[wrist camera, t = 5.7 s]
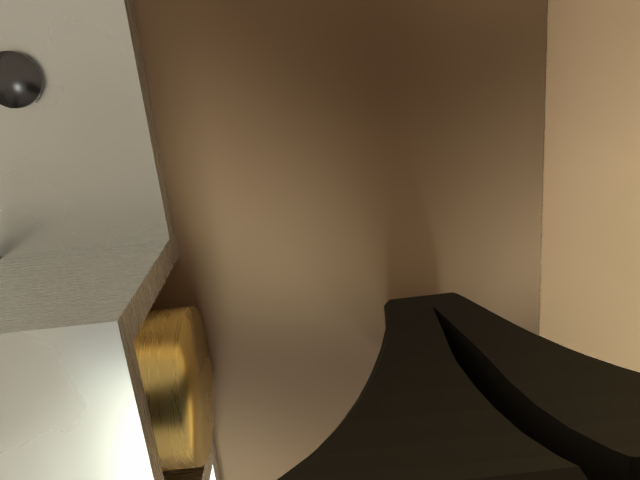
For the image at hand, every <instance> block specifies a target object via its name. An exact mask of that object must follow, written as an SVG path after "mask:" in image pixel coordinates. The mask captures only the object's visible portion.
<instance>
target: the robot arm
mask: <svg viewBox="0 0 640 480" xmlns="http://www.w3.org/2000/svg"><path fill="white" fill-rule="evenodd" d="M384 314H385V326H386V329H385V333H384V337H383V341H382V345H381V349H380V352H379V354H378V357H377V360H376V362H375V365H374V367H373V370H372V372H371V374H370V377H369V379H368V381H367V383H366V385H365V387H364V388H363V390H362V392H361V394H360V395H359V397H358V399H357V400H356V402H355V403H354V405H353V406H352V408H351V409H350V410H349V412H348V413H347V415H346V416H345V418H344V419H343V420H342V422H341V423H340V424H339V425H338V427H337V428H336V429H335V430H334V431H333V432H332V433H331V434H330V436H329V437H328V438H327V439H326V440H325V441H324V442H323V443H322V444H321V445H320V446H319V447H318V448H317V449H316V450H315V451H314V452H313V453H311V454H310V455H309V456H308V457H307V458H305V459H304V460H303V461H301V462H300V463H299V464H297V465H296V466H295V467H293V468H292V469H291V470H289V471H288V472H287V473H285V474H284V475H283V476H281V477H280V478H278V479H277V480H640V373H639V372H636V371H632V370H629V369H625V368H622V367H619V366H616V365H613V364H610V363H607V362H604V361H601V360H598V359H595V358H592V357H589V356H586V355H584V354H581V353H578V352H576V351H573V350H571V349H568V348H566V347H563V346H561V345H559V344H556V343H554V342H552V341H550V340H547V339H545V338H543V337H541V336H538V335H536V334H534V333H532V332H530V331H528V330H526V329H524V328H522V327H520V326H518V325H516V324H514V323H512V322H510V321H508V320H506V319H504V318H502V317H500V316H498V315H497V314H495V313H493V312H491V311H489V310H487V309H486V308H484V307H482V306H480V305H478V304H476V303H474V302H473V301H471V300H469V299H467V298H465V297H463V296H461V295H459V294H456V293H454V292H451V293H443V294H434V295H425V296H417V297H408V298H400V299H391V300H389V301H388V302H387V303H386V304H385V305H384Z"/></svg>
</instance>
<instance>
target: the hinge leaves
mask: <svg viewBox="0 0 640 480" xmlns="http://www.w3.org/2000/svg"><path fill="white" fill-rule="evenodd" d="M2 256H4V257H2ZM0 257H2V258H1V259H0V480H221V474H220V469H219V464H218V458H217V453H216V448H215V442H214V437H213V435H212V442H211V448H210V452H209V456H208V459H207V461H206V463H205V464H204V466H202V467H196V468H187V469H178V470H168V471H162V467H161V462H160V458H159V453H158V449H157V444H156V440H155V436H154V431H153V427H152V422H151V418H150V413H149V409H148V405H147V400H146V396H145V391H144V387H143V382H142V378H141V373H140V369H139V365H138V360H137V356H136V351H135V347H134V342H133V340H134V338H135V337H136V335H137V333H138V331H139V329H140V327H141V325H142V324H143V322H144V320H145V318H146V316H147V314H148V312H149V311H150V309H151V307H152V305H153V303H154V301H155V300H156V298H157V296H158V294H159V292H160V290H161V288H162V287H163V285H164V283H165V281H166V279H167V277H168V276H169V274H170V272H171V270H172V268H173V266H174V264H175V263H176V261H177V259H178V257H179V250H178V244H177V239H176V234H175V228H174V223H173V218H172V212H171V207H170V201H169V196H168V191H167V185H166V180H165V175H164V169H163V164H162V159H161V153H160V148H159V143H158V137H157V132H156V127H155V121H154V116H153V110H152V105H151V100H150V94H149V89H148V84H147V78H146V73H145V68H144V62H143V57H142V52H141V46H140V41H139V35H138V30H137V25H136V19H135V14H134V9H133V3H132V0H0Z"/></svg>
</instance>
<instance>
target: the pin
mask: <svg viewBox="0 0 640 480" xmlns="http://www.w3.org/2000/svg"><path fill="white" fill-rule="evenodd" d="M133 342H134V347H135V351H136V356H137V360H138V365H139V369H140V373H141V378H142V382H143V387H144V391H145V396H146V400H147V405H148V409H149V413H150V418H151V422H152V427H153V431H154V436H155V440H156V444H157V449H158V453H159V458H160V462H161V467H162V471H168V470H178V469H187V468H196V467H202V466H204V464H205V463H206V461H207V459H208V456H209V452H210V448H211V442H212V435H213V423H214V387H213V372H212V363H211V355H210V349H209V343H208V338H207V334H206V330H205V326H204V323H203V320H202V318H201V316H200V314H199V312H198V310H197V309H196V308H195V307H192V306H190V307H181V308H172V309H162V310H153V311H149V312H148V314H147V316H146V318H145V320H144V322H143V324H142V325H141V327H140V329H139V331H138V333H137V335H136V337H135V338H134V340H133Z"/></svg>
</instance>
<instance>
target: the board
mask: <svg viewBox="0 0 640 480" xmlns="http://www.w3.org/2000/svg"><path fill="white" fill-rule="evenodd" d="M132 3H133V9H134V14H135V19H136V25H137V30H138V35H139V41H140V46H141V52H142V57H143V62H144V68H145V73H146V78H147V84H148V89H149V94H150V100H151V105H152V110H153V116H154V121H155V127H156V132H157V137H158V143H159V148H160V153H161V159H162V164H163V169H164V175H165V180H166V185H167V191H168V196H169V201H170V207H171V212H172V218H173V223H174V228H175V234H176V239H177V244H178V250H179V257H178V259H177V261H176V263H175V264H174V266H173V268H172V270H171V272H170V274H169V276H168V277H167V279H166V281H165V283H164V285H163V287H162V288H161V290H160V292H159V294H158V296H157V298H156V300H155V301H154V303H153V305H152V307H151V309H150V311H153V310H162V309H172V308H181V307H190V306H192V307H195V308H196V309H197V310H198V312H199V314H200V316H201V318H202V320H203V323H204V326H205V330H206V334H207V338H208V343H209V349H210V355H211V363H212V372H213V387H214V423H213V437H214V442H215V448H216V453H217V458H218V464H219V469H220V474H221V480H277V479H278V478H280V477H281V476H283V475H284V474H285V473H287V472H288V471H289V470H291V469H292V468H293V467H295V466H296V465H297V464H299V463H300V462H301V461H303V460H304V459H305V458H307V457H308V456H309V455H310V454H311V453H313V452H314V451H315V450H316V449H317V448H318V447H319V446H320V445H321V444H322V443H323V442H324V441H325V440H326V439H327V438H328V437H329V436H330V434H331V433H332V432H333V431H334V430H335V429H336V428H337V427H338V425H339V424H340V423H341V422H342V420H343V419H344V418H345V416H346V415H347V413H348V412H349V410H350V409H351V408H352V406H353V405H354V403H355V402H356V400H357V399H358V397H359V395H360V394H361V392H362V390H363V388H364V387H365V385H366V383H367V381H368V379H369V377H370V374H371V372H372V370H373V367H374V365H375V362H376V360H377V357H378V354H379V352H380V349H381V345H382V341H383V337H384V333H385V329H386V326H385V314H384V305H385V304H386V303H387V302H388V301H389V300H391V299H400V298H408V297H417V296H425V295H434V294H443V293H451V292H454V293H456V294H459V295H461V296H463V297H465V298H467V299H469V300H471V301H473V302H474V303H476V304H478V305H480V306H482V307H484V308H486V309H487V310H489V311H491V312H493V313H495V314H497V315H498V316H500V317H502V318H504V319H506V320H508V321H510V322H512V323H514V324H516V325H518V326H520V327H522V328H524V329H526V330H528V331H530V332H532V333H534V334H536V335H538V336H539V321H540V282H541V244H542V206H543V167H544V129H545V91H546V52H547V14H548V0H132ZM2 257H4V256H2ZM2 257H0V259H1V258H2Z"/></svg>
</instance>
